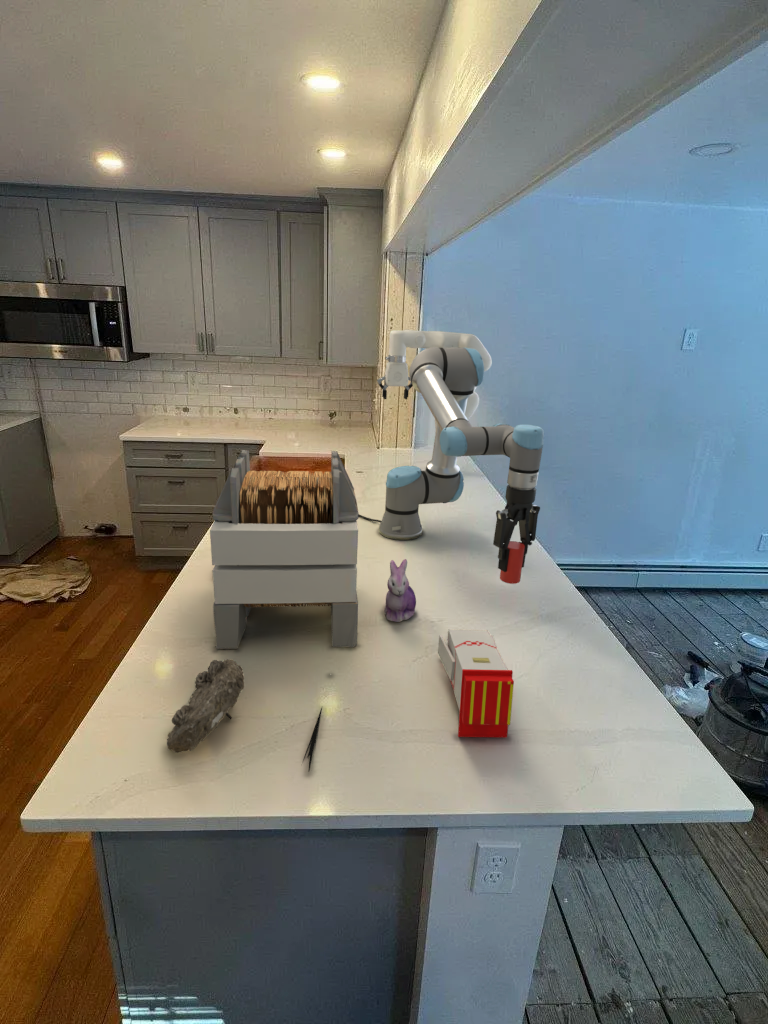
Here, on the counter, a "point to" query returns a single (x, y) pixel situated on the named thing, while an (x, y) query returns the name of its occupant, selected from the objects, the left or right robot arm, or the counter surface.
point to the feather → (313, 740)
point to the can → (513, 563)
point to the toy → (478, 682)
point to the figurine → (399, 594)
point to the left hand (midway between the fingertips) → (510, 567)
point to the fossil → (206, 705)
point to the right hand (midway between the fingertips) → (395, 398)
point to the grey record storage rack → (285, 547)
